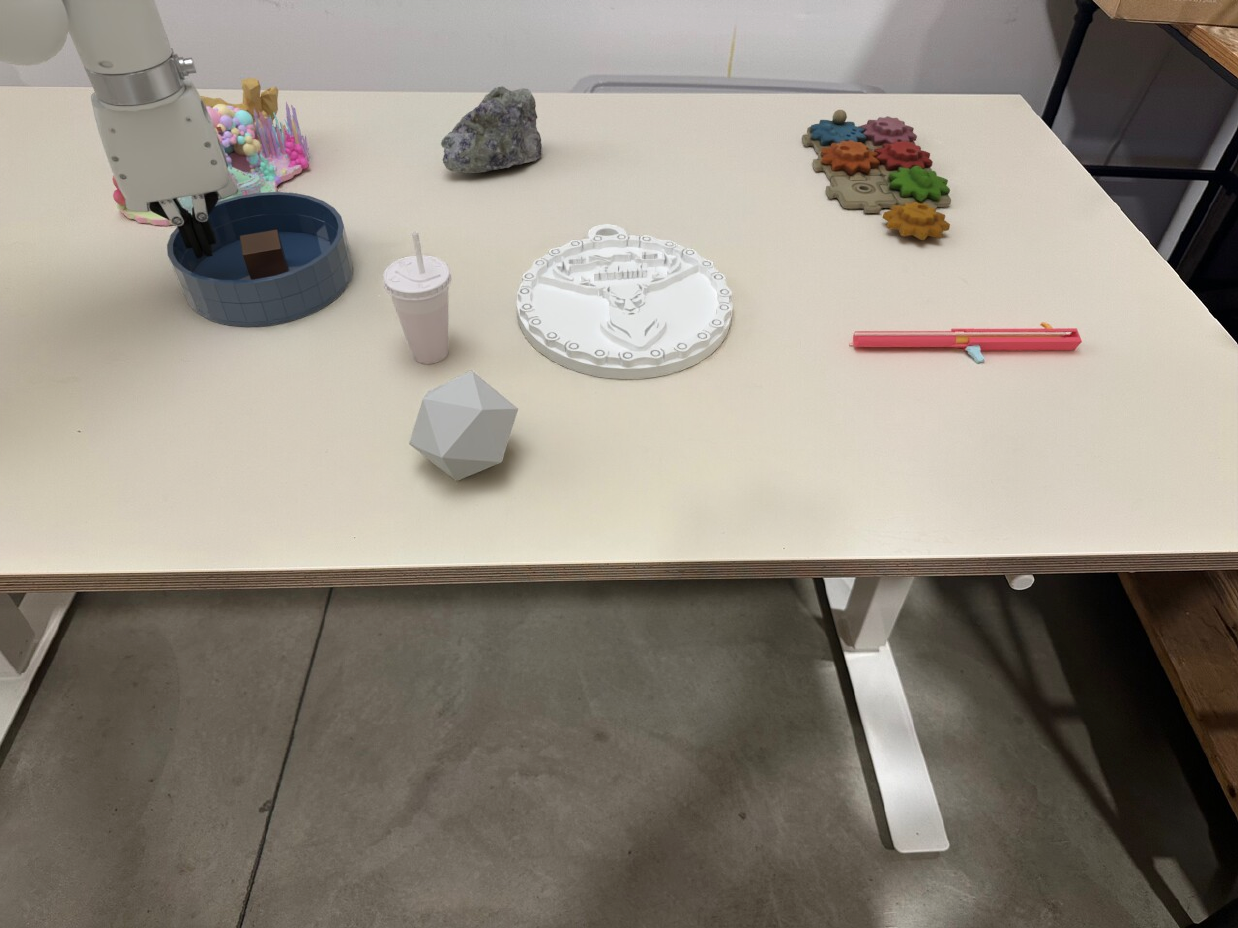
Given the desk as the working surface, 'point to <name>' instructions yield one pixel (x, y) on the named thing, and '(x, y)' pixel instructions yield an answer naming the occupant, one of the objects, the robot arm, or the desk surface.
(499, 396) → the die
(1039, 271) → the desk surface
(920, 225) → the gear puzzle
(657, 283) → the medallion
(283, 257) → the block
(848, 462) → the desk surface
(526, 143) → the mineral rock
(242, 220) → the bowl
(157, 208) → the robot arm
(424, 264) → the smoothie
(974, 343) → the red long bar
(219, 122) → the pastel sphere sculpture
